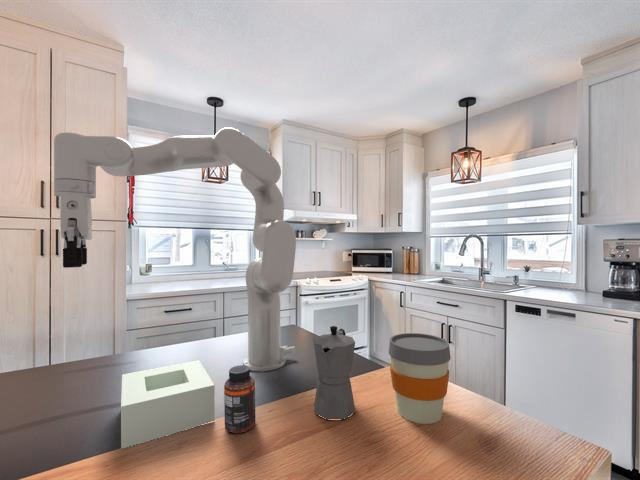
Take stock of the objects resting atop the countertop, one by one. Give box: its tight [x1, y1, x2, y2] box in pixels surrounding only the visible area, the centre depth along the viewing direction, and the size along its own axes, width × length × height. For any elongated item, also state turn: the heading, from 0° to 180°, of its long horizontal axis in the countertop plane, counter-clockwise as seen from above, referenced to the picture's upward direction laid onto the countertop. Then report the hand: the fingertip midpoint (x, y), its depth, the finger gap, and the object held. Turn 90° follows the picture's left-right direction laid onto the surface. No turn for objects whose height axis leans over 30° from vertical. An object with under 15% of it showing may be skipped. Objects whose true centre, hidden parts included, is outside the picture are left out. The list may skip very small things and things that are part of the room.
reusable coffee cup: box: [388, 332, 451, 425], centre depth 68 cm, size 13×13×15 cm
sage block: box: [120, 359, 216, 450], centre depth 67 cm, size 16×16×8 cm
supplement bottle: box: [223, 364, 257, 434], centre depth 63 cm, size 6×6×11 cm
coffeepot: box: [312, 325, 356, 419], centre depth 70 cm, size 15×9×18 cm, turn 162°
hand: (75, 265), depth 72 cm, fingers open, 9 cm apart
